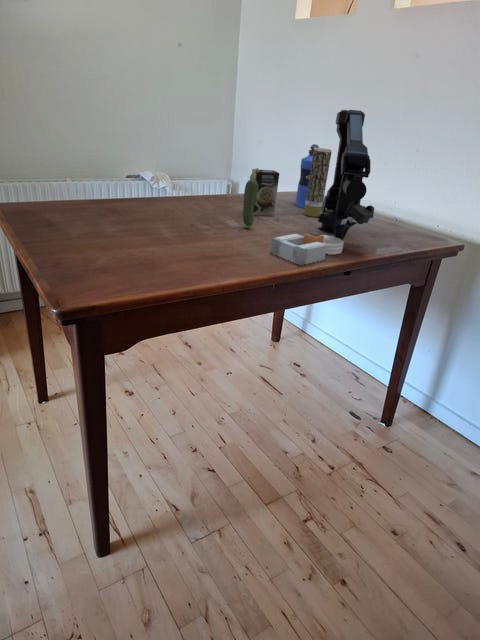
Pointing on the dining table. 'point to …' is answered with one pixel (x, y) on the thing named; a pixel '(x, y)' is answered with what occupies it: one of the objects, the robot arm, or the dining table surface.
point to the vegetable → (250, 199)
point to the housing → (298, 249)
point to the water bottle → (304, 178)
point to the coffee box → (266, 192)
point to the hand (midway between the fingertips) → (339, 243)
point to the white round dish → (333, 245)
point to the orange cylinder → (313, 237)
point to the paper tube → (317, 181)
